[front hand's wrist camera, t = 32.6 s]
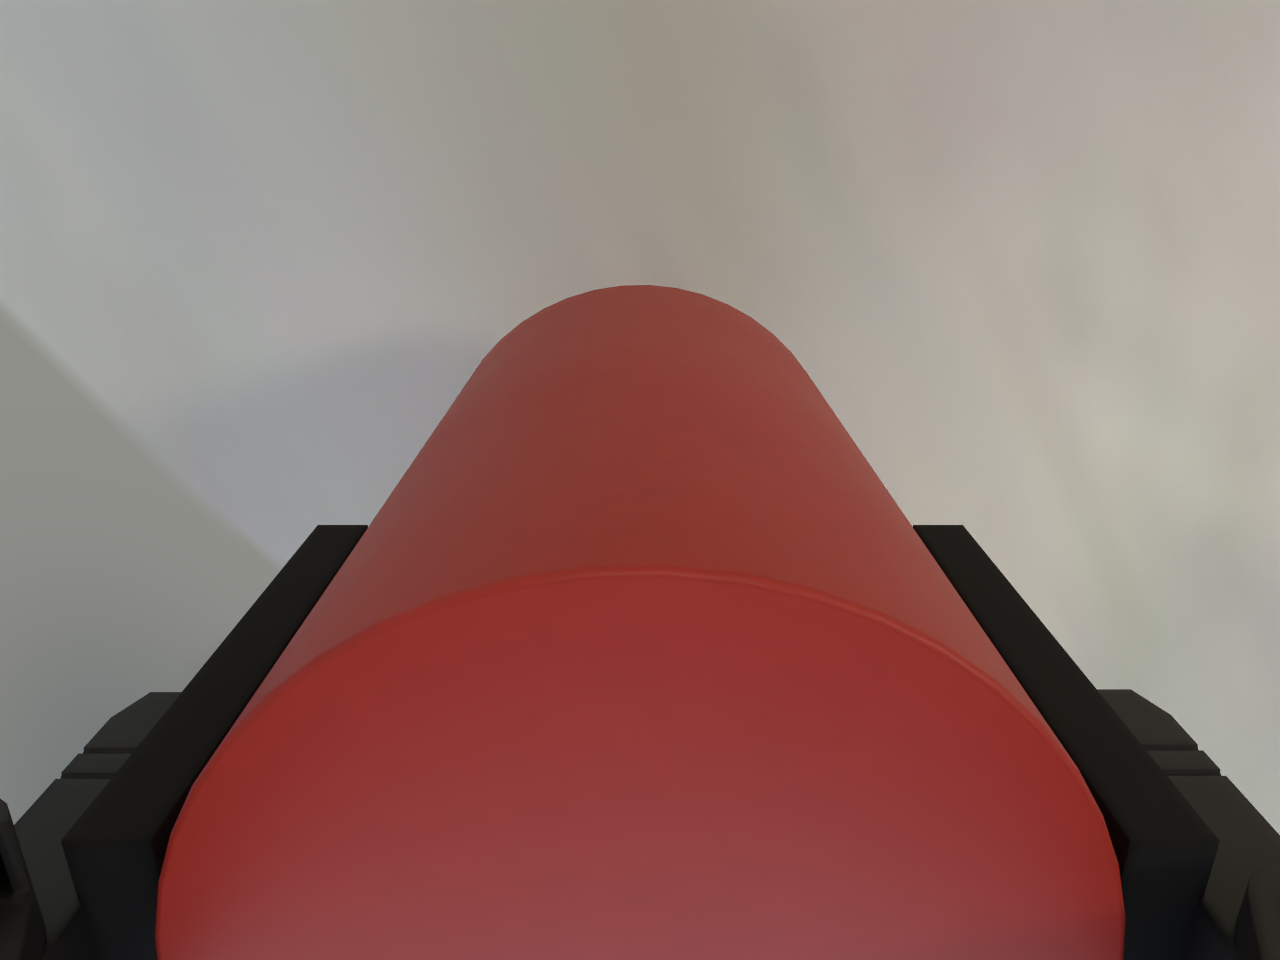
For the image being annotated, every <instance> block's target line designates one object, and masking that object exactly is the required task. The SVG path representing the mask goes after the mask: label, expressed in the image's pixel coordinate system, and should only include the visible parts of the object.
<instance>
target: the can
mask: <svg viewBox="0 0 1280 960" xmlns="http://www.w3.org/2000/svg"><path fill="white" fill-rule="evenodd" d="M1124 935H1125V909H1124V902H1123V894H1122V886H1121V879H1120V871H1119V864H1118V861H1117V858H1116V854H1115V851H1114V848H1113V845H1112V842H1111V839H1110V836H1109V833H1108V830H1107V826H1106V823H1105V820H1104V817H1103V815H1102V813H1101V811H1100V809H1099V807H1098V805H1097V803H1096V801H1095V799H1094V798H1093V796H1092V794H1091V792H1090V790H1089V788H1088V786H1087V784H1086V783H1085V781H1084V779H1083V777H1082V775H1081V773H1080V771H1079V769H1078V768H1077V766H1076V765H1075V763H1074V762H1073V760H1072V759H1071V757H1070V756H1069V754H1068V753H1067V752H1066V750H1065V749H1064V747H1063V746H1062V744H1061V743H1060V741H1059V740H1058V738H1057V737H1056V735H1055V734H1054V733H1053V731H1052V730H1051V728H1050V727H1049V725H1048V724H1047V722H1046V721H1045V719H1044V718H1043V717H1042V715H1041V714H1040V712H1039V711H1038V709H1037V708H1036V706H1035V705H1034V703H1033V702H1032V701H1031V699H1030V698H1029V696H1028V695H1027V693H1026V692H1025V690H1024V689H1023V687H1022V686H1021V684H1020V683H1019V682H1018V680H1017V679H1016V677H1015V676H1014V674H1013V673H1012V671H1011V670H1010V668H1009V667H1008V666H1007V664H1006V663H1005V661H1004V660H1003V658H1002V657H1001V655H1000V654H999V652H998V651H997V650H996V648H995V647H994V645H993V644H992V642H991V641H990V639H989V638H988V636H987V635H986V633H985V632H984V631H983V629H982V628H981V626H980V625H979V623H978V622H977V620H976V619H975V617H974V616H973V615H972V613H971V612H970V610H969V609H968V607H967V606H966V604H965V603H964V601H963V600H962V598H961V597H960V596H959V594H958V593H957V591H956V590H955V588H954V587H953V585H952V584H951V582H950V581H949V580H948V578H947V577H946V575H945V574H944V572H943V571H942V569H941V568H940V566H939V565H938V564H937V562H936V561H935V559H934V558H933V556H932V555H931V553H930V552H929V550H928V549H927V547H926V546H925V545H924V543H923V542H922V540H921V539H920V537H919V536H918V534H917V533H916V531H915V530H914V529H913V527H912V526H911V524H910V523H909V521H908V520H907V518H906V517H905V515H904V514H903V513H902V511H901V510H900V508H899V507H898V505H897V504H896V502H895V501H894V499H893V498H892V496H891V495H890V494H889V492H888V491H887V489H886V488H885V486H884V485H883V483H882V482H881V480H880V479H879V478H878V476H877V475H876V473H875V472H874V470H873V469H872V467H871V466H870V464H869V463H868V462H867V460H866V459H865V457H864V456H863V454H862V453H861V451H860V450H859V448H858V447H857V445H856V444H855V443H854V441H853V440H852V438H851V437H850V435H849V434H848V432H847V431H846V429H845V428H844V427H843V425H842V424H841V422H840V421H839V419H838V418H837V416H836V415H835V413H834V412H833V410H832V409H831V408H830V406H829V405H828V403H827V402H826V400H825V399H824V397H823V396H822V394H821V393H820V392H819V390H818V389H817V387H816V386H815V384H814V383H813V381H812V380H811V378H810V377H809V376H808V374H807V373H806V371H805V370H804V369H803V367H802V366H801V365H800V363H799V362H798V361H797V359H796V358H795V357H794V355H793V354H792V353H791V352H790V351H789V350H788V349H787V348H786V347H785V346H784V345H783V344H782V343H781V342H780V341H779V340H778V339H777V338H776V337H775V336H774V335H773V334H772V333H771V332H770V331H768V330H767V329H766V328H764V327H763V326H762V325H760V324H759V323H758V322H756V321H755V320H754V319H752V318H751V317H749V316H747V315H746V314H744V313H742V312H740V311H738V310H737V309H735V308H733V307H731V306H730V305H728V304H725V303H723V302H720V301H717V300H715V299H712V298H710V297H707V296H705V295H702V294H698V293H694V292H690V291H686V290H682V289H677V288H670V287H661V286H652V285H636V286H617V287H611V288H604V289H598V290H593V291H590V292H586V293H583V294H579V295H576V296H573V297H569V298H567V299H564V300H562V301H560V302H558V303H556V304H553V305H551V306H549V307H547V308H544V309H543V310H541V311H539V312H538V313H536V314H535V315H533V316H531V317H530V318H528V319H527V320H525V321H523V322H522V323H520V324H519V325H518V326H517V327H516V328H514V329H513V330H512V331H511V332H510V333H508V334H507V335H506V336H505V337H504V338H502V339H501V340H500V341H499V342H498V343H497V344H496V346H495V347H494V348H493V349H492V350H491V351H490V352H489V353H488V354H487V355H486V357H485V358H484V359H483V360H482V362H481V363H480V365H479V366H478V367H477V369H476V370H475V372H474V373H473V375H472V376H471V378H470V379H469V381H468V382H467V384H466V385H465V386H464V388H463V389H462V391H461V392H460V394H459V395H458V397H457V398H456V400H455V401H454V403H453V404H452V406H451V407H450V408H449V410H448V411H447V413H446V414H445V416H444V417H443V419H442V420H441V422H440V423H439V425H438V426H437V428H436V429H435V430H434V432H433V433H432V435H431V436H430V438H429V439H428V441H427V442H426V444H425V445H424V447H423V448H422V449H421V451H420V452H419V454H418V455H417V457H416V458H415V460H414V461H413V463H412V464H411V466H410V467H409V469H408V470H407V471H406V473H405V474H404V476H403V477H402V479H401V480H400V482H399V483H398V485H397V486H396V488H395V489H394V490H393V492H392V493H391V495H390V496H389V498H388V499H387V501H386V502H385V504H384V505H383V507H382V508H381V510H380V511H379V512H378V514H377V515H376V517H375V518H374V520H373V521H372V523H371V524H370V526H369V527H368V529H367V530H366V531H365V533H364V534H363V536H362V537H361V539H360V540H359V542H358V543H357V545H356V546H355V548H354V549H353V551H352V552H351V553H350V555H349V556H348V558H347V559H346V561H345V562H344V564H343V565H342V567H341V568H340V570H339V571H338V572H337V574H336V575H335V577H334V578H333V580H332V581H331V583H330V584H329V586H328V587H327V589H326V590H325V592H324V593H323V594H322V596H321V597H320V599H319V600H318V602H317V603H316V605H315V606H314V608H313V609H312V611H311V612H310V613H309V615H308V616H307V618H306V619H305V621H304V622H303V624H302V625H301V627H300V628H299V630H298V631H297V633H296V634H295V635H294V637H293V638H292V640H291V641H290V643H289V644H288V646H287V647H286V649H285V650H284V652H283V653H282V655H281V656H280V657H279V659H278V660H277V662H276V663H275V665H274V666H273V668H272V669H271V671H270V672H269V674H268V675H267V676H266V678H265V679H264V681H263V682H262V684H261V685H260V687H259V688H258V690H257V691H256V693H255V694H254V696H253V697H252V698H251V700H250V701H249V703H248V704H247V706H246V707H245V709H244V710H243V712H242V713H241V715H240V716H239V717H238V719H237V720H236V722H235V723H234V725H233V726H232V728H231V729H230V731H229V732H228V734H227V735H226V737H225V738H224V739H223V741H222V742H221V744H220V745H219V747H218V748H217V750H216V751H215V753H214V754H213V756H212V757H211V759H210V760H209V762H208V763H207V764H206V766H205V767H204V769H203V770H202V772H201V773H200V775H199V776H198V778H197V779H196V781H195V782H194V784H193V785H192V787H191V790H190V792H189V794H188V796H187V798H186V801H185V803H184V805H183V807H182V809H181V812H180V814H179V816H178V818H177V820H176V823H175V825H174V827H173V829H172V831H171V834H170V838H169V842H168V846H167V850H166V854H165V858H164V862H163V866H162V870H161V874H160V878H159V882H158V896H157V912H156V927H155V940H156V949H157V957H158V960H1123V955H1124Z"/></svg>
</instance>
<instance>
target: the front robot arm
mask: <svg viewBox="0 0 1280 960" xmlns="http://www.w3.org/2000/svg"><path fill="white" fill-rule="evenodd" d="M367 529H368V525H318V526H317V527H316V528H315V529H314V531H313V532H312V533H311V534H310V535H309V537H308V538H307V539H306V540H305V542H304V543H303V544H302V545H301V547H300V548H299V549H298V550H297V551H296V553H295V554H294V555H293V556H292V558H291V559H290V560H289V561H288V562H287V564H286V565H285V566H284V567H283V569H282V570H281V571H280V572H279V574H278V575H277V576H276V577H275V578H274V580H273V581H272V582H271V583H270V585H269V586H268V587H267V588H266V589H265V591H264V592H263V593H262V594H261V596H260V597H259V598H258V599H257V601H256V602H255V603H254V604H253V606H252V607H251V608H250V609H249V610H248V612H247V613H246V614H245V615H244V617H243V618H242V619H241V620H240V621H239V623H238V624H237V625H236V626H235V628H234V629H233V630H232V631H231V632H230V634H229V635H228V636H227V637H226V639H225V640H224V641H223V642H222V644H221V645H220V646H219V647H218V649H217V650H216V651H215V652H214V653H213V655H212V656H211V657H210V658H209V659H208V661H207V662H206V663H205V664H204V666H203V667H202V668H201V669H200V671H199V672H198V673H197V674H196V675H195V677H194V678H193V679H192V680H191V682H190V683H189V684H188V685H187V686H186V688H185V689H184V690H183V691H182V692H150V693H149V694H147V695H146V696H144V697H142V698H141V699H139V700H138V701H136V702H135V703H133V704H132V705H130V706H129V707H127V708H125V709H124V710H122V711H121V712H119V713H118V714H116V715H114V716H113V717H111V718H110V719H109V720H108V721H107V723H106V724H105V725H104V726H103V727H102V728H101V729H100V730H99V731H98V733H97V734H96V735H95V736H94V737H93V738H92V739H91V740H90V741H89V743H88V744H87V745H86V746H85V747H84V752H83V754H78V755H77V756H76V757H75V758H74V759H73V760H72V762H71V763H70V764H69V765H68V766H67V767H66V768H65V769H64V770H63V771H62V776H61V778H60V779H55V780H54V782H53V783H52V784H51V785H50V786H49V787H48V788H47V789H46V790H45V791H44V793H43V794H42V795H41V796H40V797H39V798H38V799H37V800H36V801H35V803H34V804H33V805H32V806H31V807H30V808H29V809H28V810H27V812H26V813H25V814H24V815H23V816H22V817H21V818H20V819H19V820H18V821H17V823H16V824H15V825H13V822H12V818H11V815H10V812H9V809H8V806H7V803H5V802H4V801H3V800H1V799H0V960H158V957H157V949H156V940H155V927H156V912H157V896H158V882H159V878H160V874H161V870H162V866H163V862H164V858H165V854H166V850H167V846H168V842H169V838H170V834H171V831H172V829H173V827H174V825H175V823H176V820H177V818H178V816H179V814H180V812H181V809H182V807H183V805H184V803H185V801H186V798H187V796H188V794H189V792H190V790H191V787H192V785H193V784H194V782H195V781H196V779H197V778H198V776H199V775H200V773H201V772H202V770H203V769H204V767H205V766H206V764H207V763H208V762H209V760H210V759H211V757H212V756H213V754H214V753H215V751H216V750H217V748H218V747H219V745H220V744H221V742H222V741H223V739H224V738H225V737H226V735H227V734H228V732H229V731H230V729H231V728H232V726H233V725H234V723H235V722H236V720H237V719H238V717H239V716H240V715H241V713H242V712H243V710H244V709H245V707H246V706H247V704H248V703H249V701H250V700H251V698H252V697H253V696H254V694H255V693H256V691H257V690H258V688H259V687H260V685H261V684H262V682H263V681H264V679H265V678H266V676H267V675H268V674H269V672H270V671H271V669H272V668H273V666H274V665H275V663H276V662H277V660H278V659H279V657H280V656H281V655H282V653H283V652H284V650H285V649H286V647H287V646H288V644H289V643H290V641H291V640H292V638H293V637H294V635H295V634H296V633H297V631H298V630H299V628H300V627H301V625H302V624H303V622H304V621H305V619H306V618H307V616H308V615H309V613H310V612H311V611H312V609H313V608H314V606H315V605H316V603H317V602H318V600H319V599H320V597H321V596H322V594H323V593H324V592H325V590H326V589H327V587H328V586H329V584H330V583H331V581H332V580H333V578H334V577H335V575H336V574H337V572H338V571H339V570H340V568H341V567H342V565H343V564H344V562H345V561H346V559H347V558H348V556H349V555H350V553H351V552H352V551H353V549H354V548H355V546H356V545H357V543H358V542H359V540H360V539H361V537H362V536H363V534H364V533H365V531H366V530H367ZM913 529H914V530H915V531H916V533H917V534H918V536H919V537H920V539H921V540H922V542H923V543H924V545H925V546H926V547H927V549H928V550H929V552H930V553H931V555H932V556H933V558H934V559H935V561H936V562H937V564H938V565H939V566H940V568H941V569H942V571H943V572H944V574H945V575H946V577H947V578H948V580H949V581H950V582H951V584H952V585H953V587H954V588H955V590H956V591H957V593H958V594H959V596H960V597H961V598H962V600H963V601H964V603H965V604H966V606H967V607H968V609H969V610H970V612H971V613H972V615H973V616H974V617H975V619H976V620H977V622H978V623H979V625H980V626H981V628H982V629H983V631H984V632H985V633H986V635H987V636H988V638H989V639H990V641H991V642H992V644H993V645H994V647H995V648H996V650H997V651H998V652H999V654H1000V655H1001V657H1002V658H1003V660H1004V661H1005V663H1006V664H1007V666H1008V667H1009V668H1010V670H1011V671H1012V673H1013V674H1014V676H1015V677H1016V679H1017V680H1018V682H1019V683H1020V684H1021V686H1022V687H1023V689H1024V690H1025V692H1026V693H1027V695H1028V696H1029V698H1030V699H1031V701H1032V702H1033V703H1034V705H1035V706H1036V708H1037V709H1038V711H1039V712H1040V714H1041V715H1042V717H1043V718H1044V719H1045V721H1046V722H1047V724H1048V725H1049V727H1050V728H1051V730H1052V731H1053V733H1054V734H1055V735H1056V737H1057V738H1058V740H1059V741H1060V743H1061V744H1062V746H1063V747H1064V749H1065V750H1066V752H1067V753H1068V754H1069V756H1070V757H1071V759H1072V760H1073V762H1074V763H1075V765H1076V766H1077V768H1078V769H1079V771H1080V773H1081V775H1082V777H1083V779H1084V781H1085V783H1086V784H1087V786H1088V788H1089V790H1090V792H1091V794H1092V796H1093V798H1094V799H1095V801H1096V803H1097V805H1098V807H1099V809H1100V811H1101V813H1102V815H1103V817H1104V820H1105V823H1106V826H1107V830H1108V833H1109V836H1110V839H1111V842H1112V845H1113V848H1114V851H1115V854H1116V858H1117V861H1118V864H1119V871H1120V879H1121V886H1122V894H1123V902H1124V909H1125V935H1124V955H1123V960H1280V835H1279V834H1278V833H1277V832H1276V831H1275V830H1274V828H1273V827H1272V826H1271V825H1270V824H1269V823H1268V822H1267V821H1266V820H1265V819H1264V817H1263V816H1262V815H1261V814H1260V813H1259V812H1258V811H1257V810H1256V809H1255V807H1254V806H1253V805H1252V804H1251V803H1250V802H1249V801H1248V800H1247V799H1246V798H1245V796H1244V795H1243V794H1242V793H1241V792H1240V791H1239V790H1238V789H1237V788H1236V787H1235V785H1234V784H1233V783H1232V782H1231V781H1230V780H1229V779H1228V778H1227V777H1226V776H1221V774H1220V769H1219V768H1218V767H1217V766H1216V764H1215V763H1214V762H1213V761H1212V760H1211V759H1210V758H1209V757H1208V756H1207V755H1206V753H1205V752H1204V751H1199V750H1198V745H1197V743H1196V742H1195V741H1194V740H1193V739H1192V738H1191V737H1190V736H1189V735H1188V734H1187V732H1186V731H1185V730H1184V729H1183V728H1182V727H1181V726H1180V725H1179V724H1178V723H1177V721H1176V720H1175V719H1174V718H1173V717H1172V716H1171V715H1170V714H1168V713H1167V712H1165V711H1164V710H1162V709H1161V708H1159V707H1157V706H1156V705H1154V704H1153V703H1151V702H1150V701H1148V700H1146V699H1145V698H1143V697H1142V696H1140V695H1139V694H1137V693H1135V692H1134V691H1132V690H1097V689H1096V688H1095V687H1094V686H1093V684H1092V683H1091V682H1090V681H1089V680H1088V678H1087V677H1086V676H1085V675H1084V673H1083V672H1082V671H1081V670H1080V669H1079V667H1078V666H1077V665H1076V664H1075V662H1074V661H1073V660H1072V659H1071V657H1070V656H1069V655H1068V654H1067V653H1066V651H1065V650H1064V649H1063V648H1062V646H1061V645H1060V644H1059V643H1058V641H1057V640H1056V639H1055V638H1054V637H1053V635H1052V634H1051V633H1050V632H1049V630H1048V629H1047V628H1046V627H1045V626H1044V624H1043V623H1042V622H1041V621H1040V619H1039V618H1038V617H1037V616H1036V614H1035V613H1034V612H1033V611H1032V610H1031V608H1030V607H1029V606H1028V605H1027V603H1026V602H1025V601H1024V600H1023V599H1022V597H1021V596H1020V595H1019V594H1018V592H1017V591H1016V590H1015V589H1014V587H1013V586H1012V585H1011V584H1010V583H1009V581H1008V580H1007V579H1006V578H1005V576H1004V575H1003V574H1002V573H1001V572H1000V570H999V569H998V568H997V567H996V565H995V564H994V563H993V562H992V560H991V559H990V558H989V557H988V556H987V554H986V553H985V552H984V551H983V549H982V548H981V547H980V546H979V545H978V543H977V542H976V541H975V540H974V538H973V537H972V536H971V535H970V533H969V532H968V531H967V530H966V529H965V527H964V526H963V525H913Z"/></svg>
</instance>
